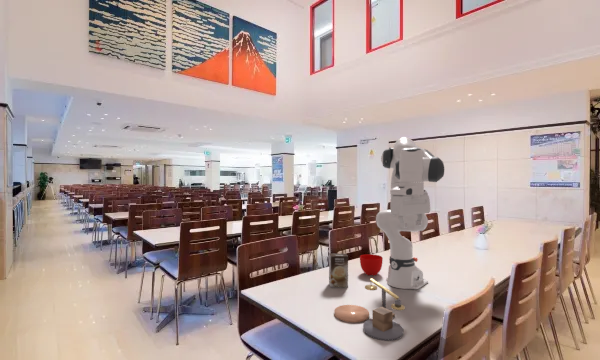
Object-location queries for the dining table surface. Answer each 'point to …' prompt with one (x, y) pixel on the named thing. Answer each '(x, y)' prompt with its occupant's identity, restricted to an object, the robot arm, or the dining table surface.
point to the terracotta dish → (351, 313)
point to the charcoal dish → (378, 334)
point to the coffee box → (338, 270)
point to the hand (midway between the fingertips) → (411, 226)
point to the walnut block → (382, 319)
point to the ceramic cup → (371, 264)
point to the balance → (397, 302)
